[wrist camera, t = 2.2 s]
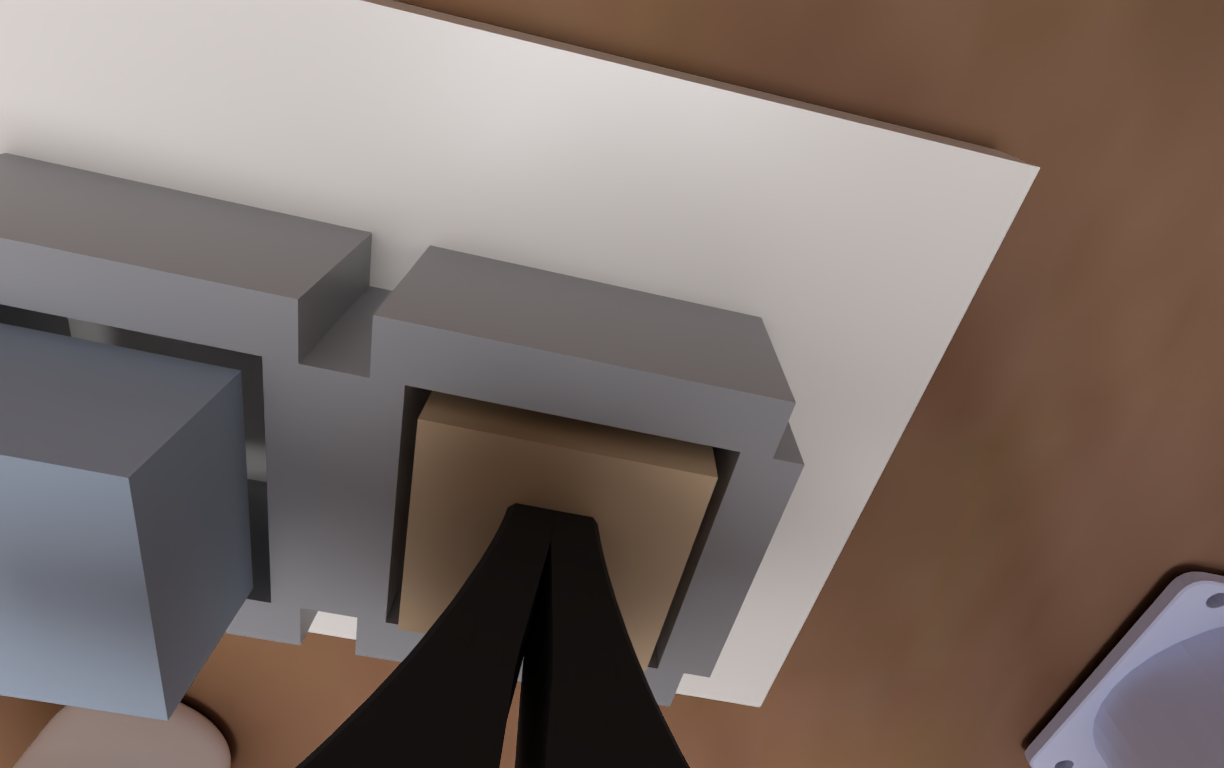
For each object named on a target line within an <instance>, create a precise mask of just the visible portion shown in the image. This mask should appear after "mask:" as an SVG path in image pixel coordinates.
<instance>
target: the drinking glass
mask: <svg viewBox="0 0 1224 768" xmlns="http://www.w3.org/2000/svg"><path fill="white" fill-rule="evenodd" d="M12 768H231V754H230V750H229V746H228V744H227V741H226V740H225V738H224V736H223V735H222V733H221V732H220V731H219V729H218V728H217V727H216V726H215V725H214V724H213V723H212V722H211V721H210V720H208V719H207V718H206V717H205V716H203V715H202V714H200V713H199V712H197V711H196V710H194V709H193V708H191V707H189V706H187V705H185V704H183V703H181V702H180V703H179V704H178V706H177V708H176V709H175V711H174V712H173V714H172V715H171V717H170V718H169V720H168V721H166V720H159V719H153V718H146V717H140V716H133V715H127V714H120V713H114V712H107V711H101V710H94V709H88V708H81V707H75V706H68V705H66V706H65V707H63V708H62V709H61V710H60V711H59V712H58V713H57V714H55V715H54V716H53V718H52V719H51V720H50V721H49V722H48V723H47V724H46V726H45V727H44V728H43V729H42V731H41V732H40V733H39V734H38V736H37V737H36V738H35V739H34V740H33V742H32V743H31V744H30V745H29V747H28V748H27V749H26V750H25V752H24V753H23V754H22V755H21V757H20V758H19V759H18V760H17V762H16V763H15V764H14V765H13V766H12Z"/></svg>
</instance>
